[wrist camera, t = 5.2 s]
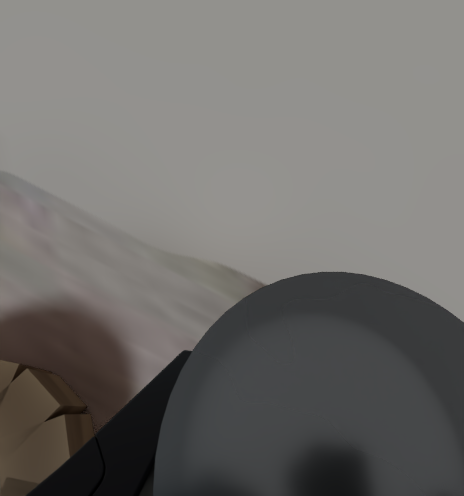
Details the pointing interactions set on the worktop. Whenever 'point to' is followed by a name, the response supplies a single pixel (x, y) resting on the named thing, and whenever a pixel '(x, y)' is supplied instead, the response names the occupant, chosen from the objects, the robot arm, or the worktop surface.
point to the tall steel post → (320, 396)
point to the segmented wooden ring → (37, 426)
